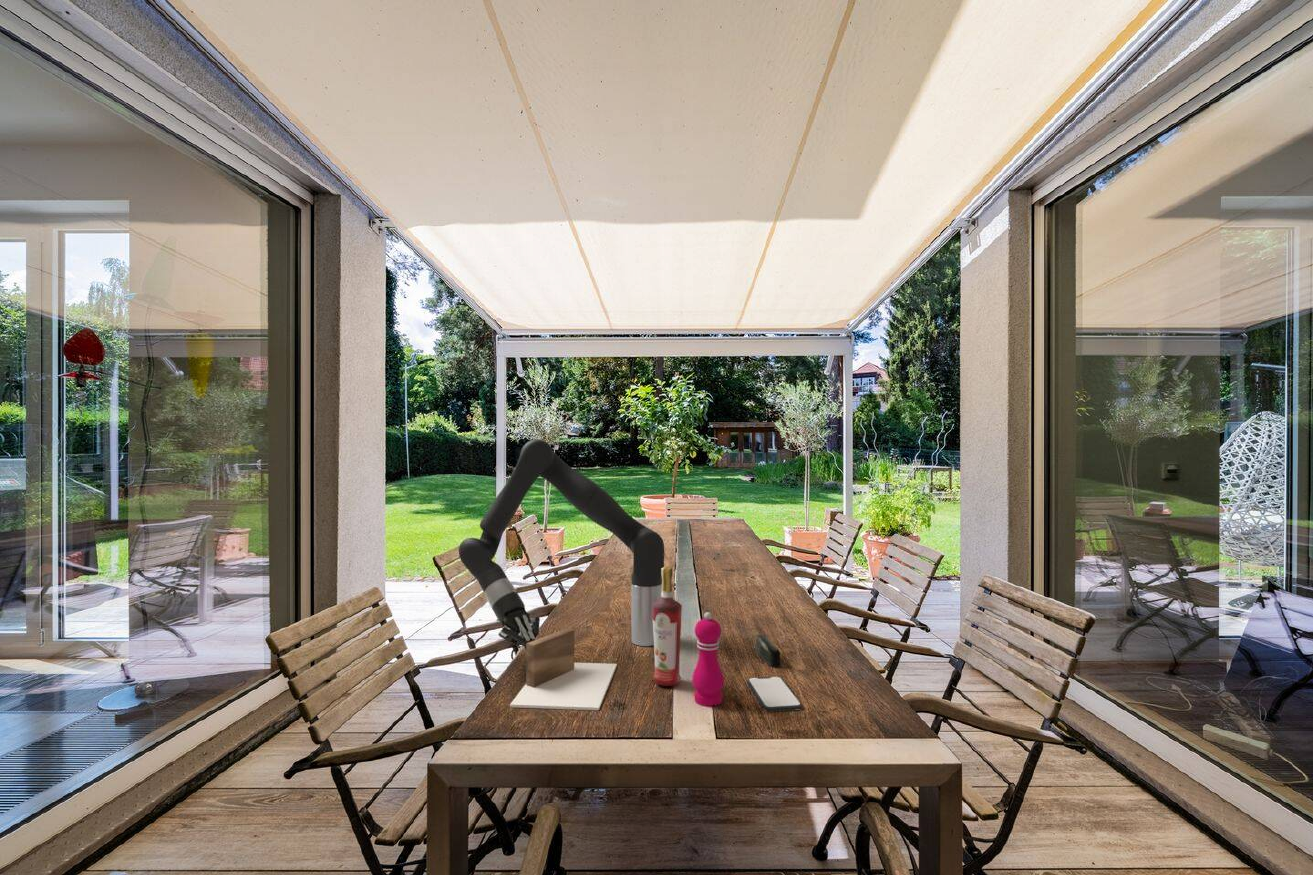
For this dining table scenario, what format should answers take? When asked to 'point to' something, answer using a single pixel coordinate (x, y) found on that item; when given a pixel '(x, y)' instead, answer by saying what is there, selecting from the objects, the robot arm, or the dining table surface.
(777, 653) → the mobile phone
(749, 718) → the dining table surface
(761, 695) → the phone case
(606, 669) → the mat
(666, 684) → the liquor
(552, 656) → the slab
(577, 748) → the dining table surface
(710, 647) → the pepper mill
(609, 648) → the dining table surface
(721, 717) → the dining table surface
